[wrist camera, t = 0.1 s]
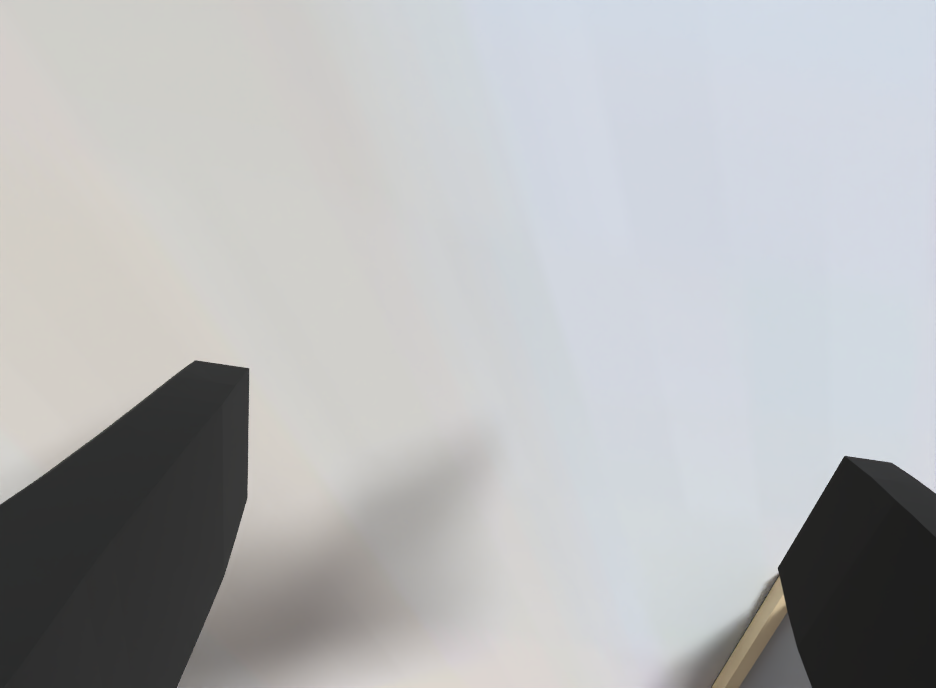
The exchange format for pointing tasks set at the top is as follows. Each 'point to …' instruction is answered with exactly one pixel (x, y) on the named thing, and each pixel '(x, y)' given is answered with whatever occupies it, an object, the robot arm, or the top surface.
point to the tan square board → (754, 639)
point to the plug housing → (778, 662)
